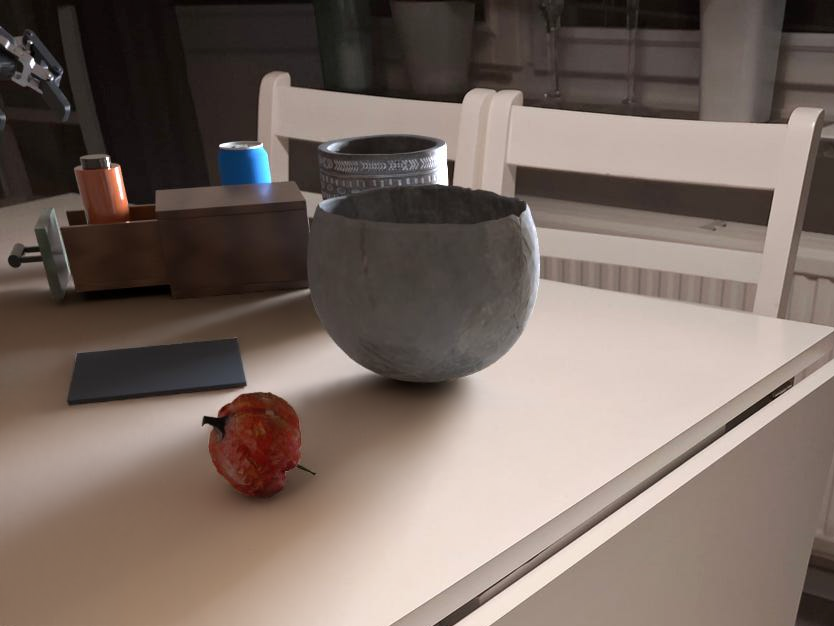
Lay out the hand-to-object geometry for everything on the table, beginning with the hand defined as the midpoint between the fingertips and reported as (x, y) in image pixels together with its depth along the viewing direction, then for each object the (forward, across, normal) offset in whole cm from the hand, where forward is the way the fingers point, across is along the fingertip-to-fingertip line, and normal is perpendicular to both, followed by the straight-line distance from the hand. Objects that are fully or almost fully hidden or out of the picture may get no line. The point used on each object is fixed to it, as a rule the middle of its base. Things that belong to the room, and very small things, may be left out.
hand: (35, 120), depth 115 cm
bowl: (+54, -4, -30) cm, 62 cm away
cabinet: (+25, +11, -1) cm, 27 cm away
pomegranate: (+58, -31, -34) cm, 74 cm away
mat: (+38, -18, -14) cm, 44 cm away
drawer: (+17, -1, +5) cm, 18 cm away
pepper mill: (+17, 0, +4) cm, 18 cm away
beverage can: (+17, +24, +7) cm, 31 cm away
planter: (+39, +17, -14) cm, 45 cm away
